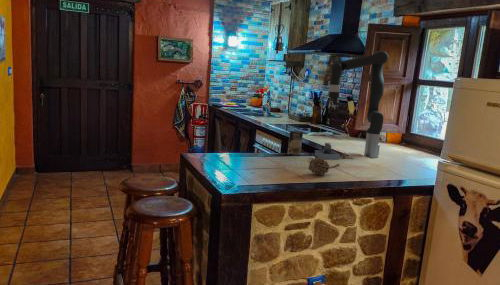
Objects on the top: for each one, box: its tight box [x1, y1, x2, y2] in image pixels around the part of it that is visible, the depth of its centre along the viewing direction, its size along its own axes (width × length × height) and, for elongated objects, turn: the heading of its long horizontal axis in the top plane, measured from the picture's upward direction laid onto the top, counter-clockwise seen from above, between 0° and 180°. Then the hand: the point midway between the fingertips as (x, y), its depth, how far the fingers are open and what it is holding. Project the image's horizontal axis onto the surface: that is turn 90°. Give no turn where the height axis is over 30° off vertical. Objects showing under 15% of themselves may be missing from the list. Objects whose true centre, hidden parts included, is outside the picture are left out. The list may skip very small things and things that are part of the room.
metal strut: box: [323, 142, 333, 154], centre depth 280 cm, size 4×4×10 cm
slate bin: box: [314, 149, 341, 162], centre depth 281 cm, size 12×13×5 cm
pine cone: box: [307, 157, 341, 175], centre depth 238 cm, size 22×10×10 cm, turn 124°
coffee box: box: [287, 130, 304, 156], centre depth 290 cm, size 9×6×16 cm
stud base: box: [339, 152, 354, 160], centre depth 285 cm, size 11×11×5 cm
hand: (332, 114), depth 297 cm, fingers open, 8 cm apart
